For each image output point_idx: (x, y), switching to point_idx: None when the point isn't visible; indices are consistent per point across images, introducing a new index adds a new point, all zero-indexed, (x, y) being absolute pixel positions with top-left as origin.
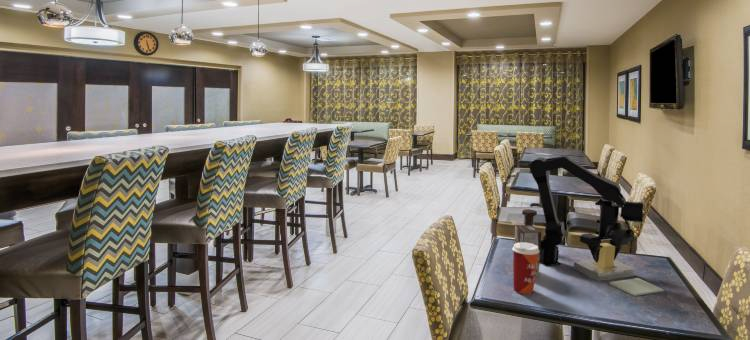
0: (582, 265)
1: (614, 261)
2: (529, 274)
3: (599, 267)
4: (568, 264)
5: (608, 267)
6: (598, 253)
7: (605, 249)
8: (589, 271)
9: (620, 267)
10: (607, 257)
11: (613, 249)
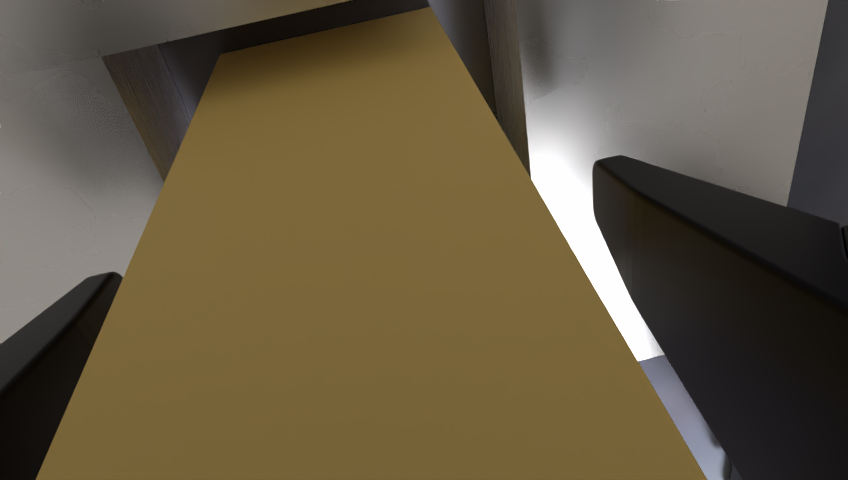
0: (774, 192)
1: None
2: None
3: (538, 80)
4: (657, 374)
5: (333, 72)
6: (815, 257)
7: (636, 391)
8: None
9: (27, 46)
10: (421, 178)
11: (131, 454)
